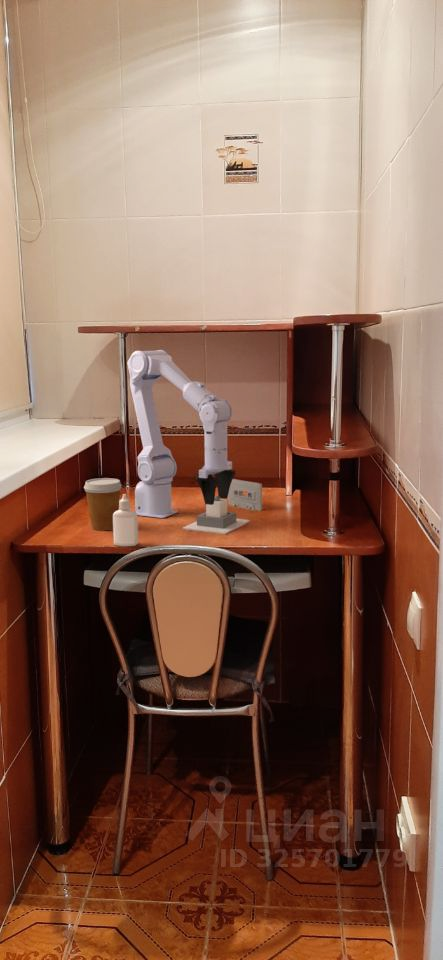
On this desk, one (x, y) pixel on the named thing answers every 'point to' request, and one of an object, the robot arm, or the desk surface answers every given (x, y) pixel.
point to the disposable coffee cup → (102, 501)
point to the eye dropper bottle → (125, 524)
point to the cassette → (240, 500)
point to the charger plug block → (217, 508)
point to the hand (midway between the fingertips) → (216, 501)
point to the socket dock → (216, 523)
